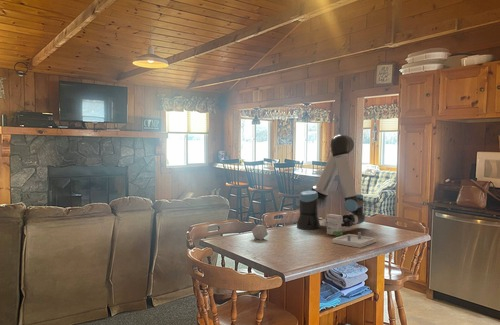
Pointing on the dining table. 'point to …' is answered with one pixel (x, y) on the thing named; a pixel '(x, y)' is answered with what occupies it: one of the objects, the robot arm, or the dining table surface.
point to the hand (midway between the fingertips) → (330, 224)
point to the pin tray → (354, 240)
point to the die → (259, 232)
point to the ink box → (334, 224)
